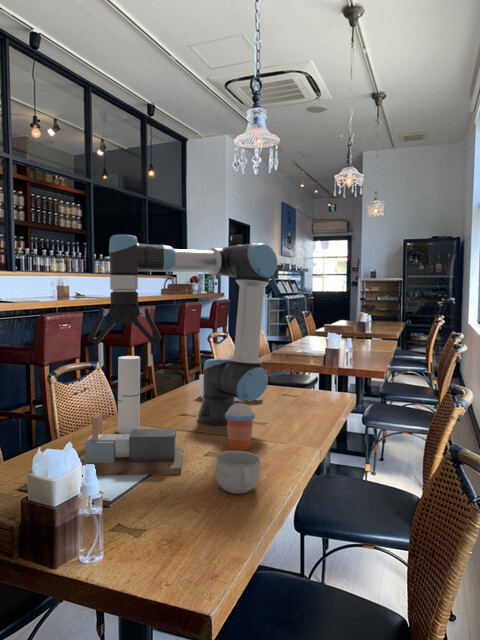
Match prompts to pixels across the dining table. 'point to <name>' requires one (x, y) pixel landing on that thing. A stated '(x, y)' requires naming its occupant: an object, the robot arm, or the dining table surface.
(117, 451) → the grey block with peg
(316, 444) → the dining table surface
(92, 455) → the socket block
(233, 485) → the teacup
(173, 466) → the walnut base board
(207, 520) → the dining table surface
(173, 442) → the outer sleeve
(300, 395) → the dining table surface
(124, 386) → the cylindrical container
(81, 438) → the dining table surface
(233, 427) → the cup with straw
